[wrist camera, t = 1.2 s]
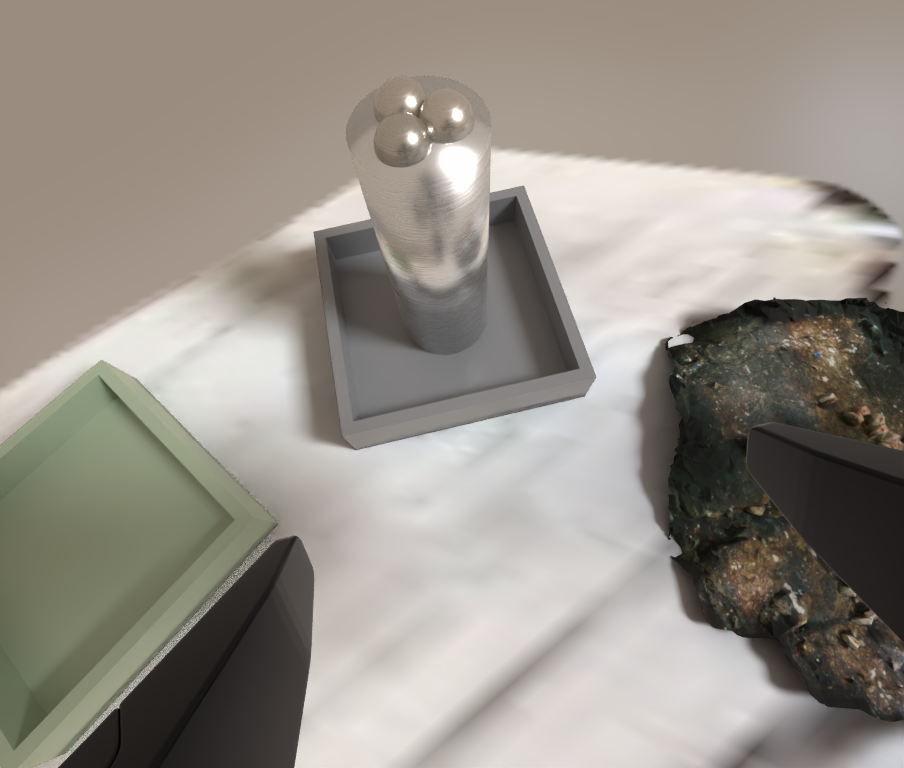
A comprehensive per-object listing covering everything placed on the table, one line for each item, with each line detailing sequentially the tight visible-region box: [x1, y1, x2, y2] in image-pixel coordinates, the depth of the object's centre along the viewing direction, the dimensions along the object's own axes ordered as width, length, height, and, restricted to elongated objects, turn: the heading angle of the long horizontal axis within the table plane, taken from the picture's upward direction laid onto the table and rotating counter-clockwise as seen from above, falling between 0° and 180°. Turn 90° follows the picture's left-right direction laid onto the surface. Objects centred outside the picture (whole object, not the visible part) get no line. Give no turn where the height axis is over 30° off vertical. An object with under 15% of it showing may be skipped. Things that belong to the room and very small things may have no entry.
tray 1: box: [0, 360, 278, 768], centre depth 22 cm, size 12×12×3 cm
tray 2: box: [314, 186, 596, 450], centre depth 25 cm, size 12×12×3 cm
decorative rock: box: [666, 298, 904, 722], centre depth 20 cm, size 19×6×15 cm
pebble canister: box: [346, 76, 491, 355], centre depth 20 cm, size 5×5×13 cm
